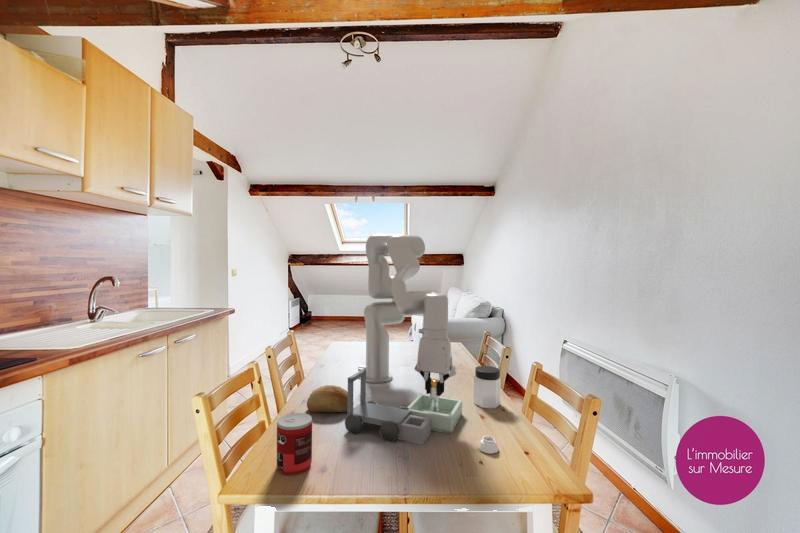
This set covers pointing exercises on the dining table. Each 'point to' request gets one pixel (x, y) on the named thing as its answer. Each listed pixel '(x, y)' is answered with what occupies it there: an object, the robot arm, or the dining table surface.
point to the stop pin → (434, 395)
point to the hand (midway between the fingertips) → (434, 392)
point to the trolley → (384, 417)
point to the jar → (487, 386)
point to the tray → (444, 417)
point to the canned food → (294, 443)
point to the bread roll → (328, 399)
